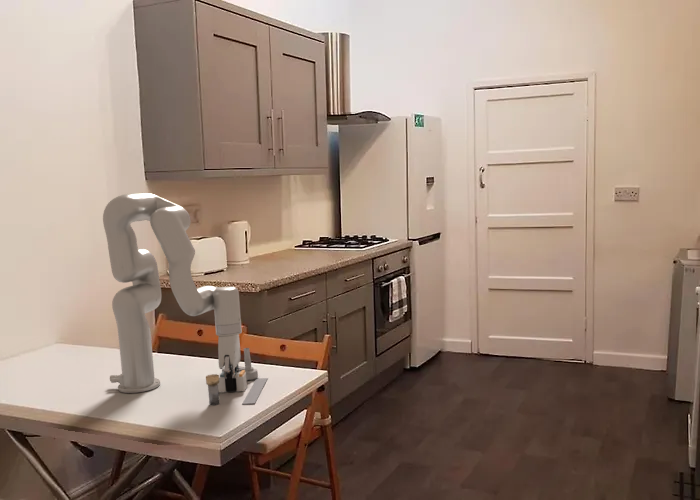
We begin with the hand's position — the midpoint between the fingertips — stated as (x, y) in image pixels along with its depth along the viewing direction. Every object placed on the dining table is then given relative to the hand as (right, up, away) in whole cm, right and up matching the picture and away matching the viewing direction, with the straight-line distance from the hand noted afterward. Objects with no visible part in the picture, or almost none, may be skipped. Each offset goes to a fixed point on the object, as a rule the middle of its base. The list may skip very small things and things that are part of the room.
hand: (233, 387), depth 208 cm
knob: (-3, -2, -12) cm, 13 cm away
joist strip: (+7, 0, -3) cm, 8 cm away
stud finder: (0, 0, 0) cm, 1 cm away
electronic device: (0, 0, +14) cm, 14 cm away
